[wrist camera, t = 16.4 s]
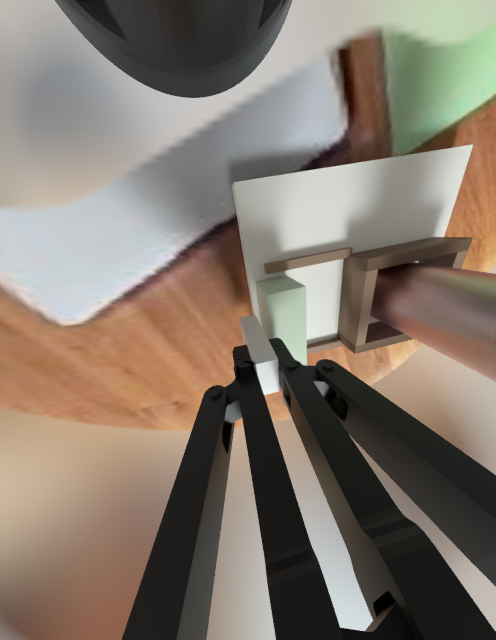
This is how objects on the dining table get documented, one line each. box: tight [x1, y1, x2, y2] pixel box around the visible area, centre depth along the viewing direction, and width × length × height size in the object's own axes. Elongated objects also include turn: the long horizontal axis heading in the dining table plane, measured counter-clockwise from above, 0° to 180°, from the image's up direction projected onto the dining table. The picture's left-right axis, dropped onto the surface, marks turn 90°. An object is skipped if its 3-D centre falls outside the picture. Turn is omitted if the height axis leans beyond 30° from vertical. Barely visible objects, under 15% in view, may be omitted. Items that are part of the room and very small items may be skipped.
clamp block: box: [255, 275, 307, 366], centre depth 17 cm, size 8×3×4 cm, turn 10°
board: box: [232, 145, 473, 354], centre depth 18 cm, size 17×20×2 cm
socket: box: [337, 237, 472, 354], centre depth 18 cm, size 10×10×3 cm
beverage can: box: [370, 262, 496, 382], centre depth 12 cm, size 6×6×15 cm
